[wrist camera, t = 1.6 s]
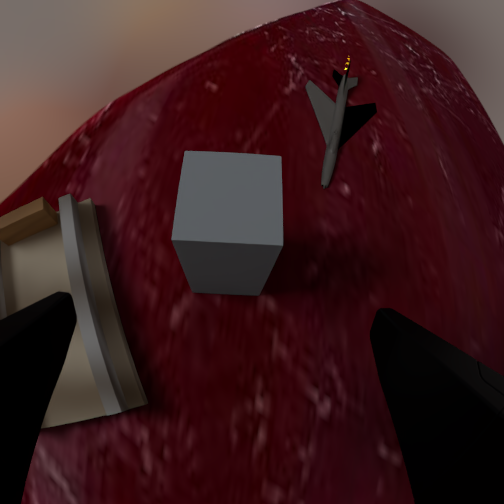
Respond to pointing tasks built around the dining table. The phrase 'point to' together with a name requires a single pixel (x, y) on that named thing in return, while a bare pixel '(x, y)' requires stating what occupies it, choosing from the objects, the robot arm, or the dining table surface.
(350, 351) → the dining table surface
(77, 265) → the rail
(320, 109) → the toy airplane
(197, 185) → the block
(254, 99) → the dining table surface
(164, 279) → the dining table surface
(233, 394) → the dining table surface
